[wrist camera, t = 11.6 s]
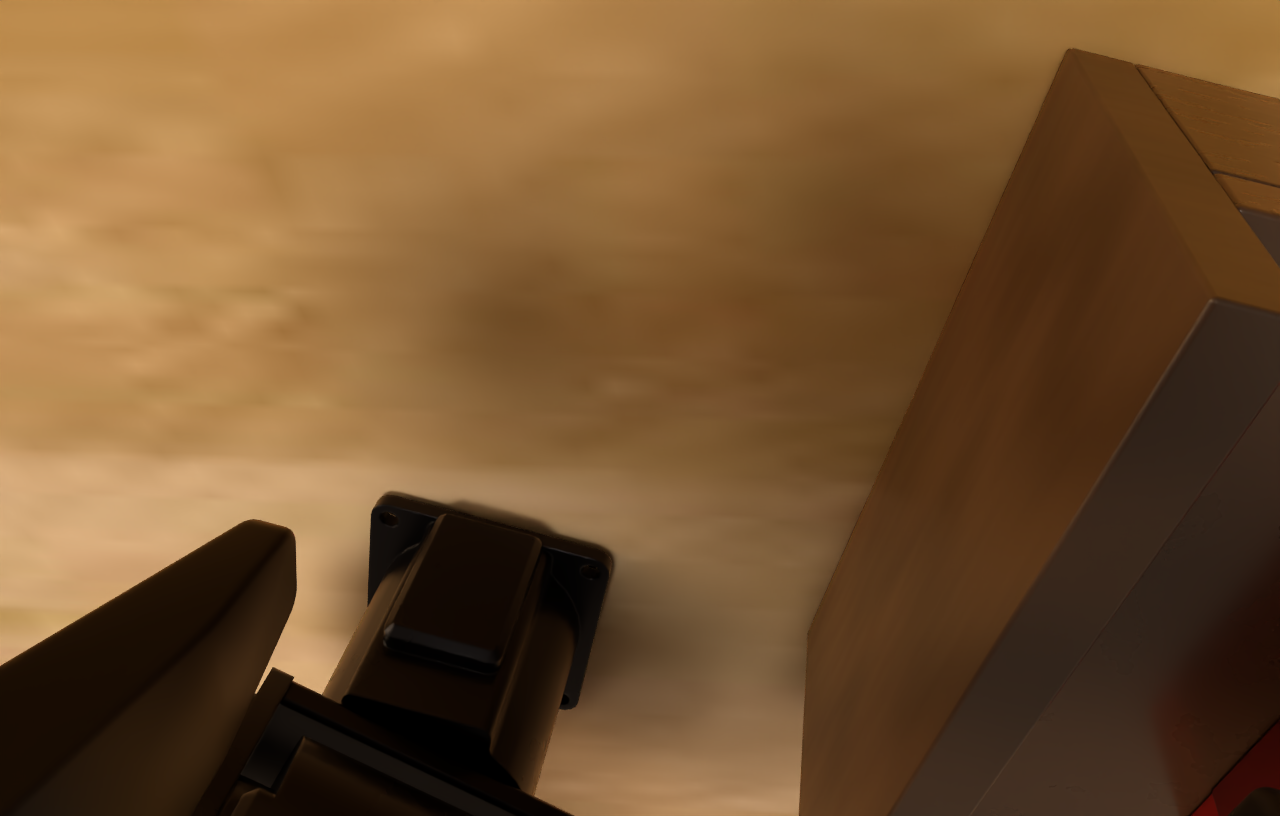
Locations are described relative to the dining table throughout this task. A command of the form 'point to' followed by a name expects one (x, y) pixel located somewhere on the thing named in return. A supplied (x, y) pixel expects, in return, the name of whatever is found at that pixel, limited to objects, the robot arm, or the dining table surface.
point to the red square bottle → (1246, 776)
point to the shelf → (1077, 486)
